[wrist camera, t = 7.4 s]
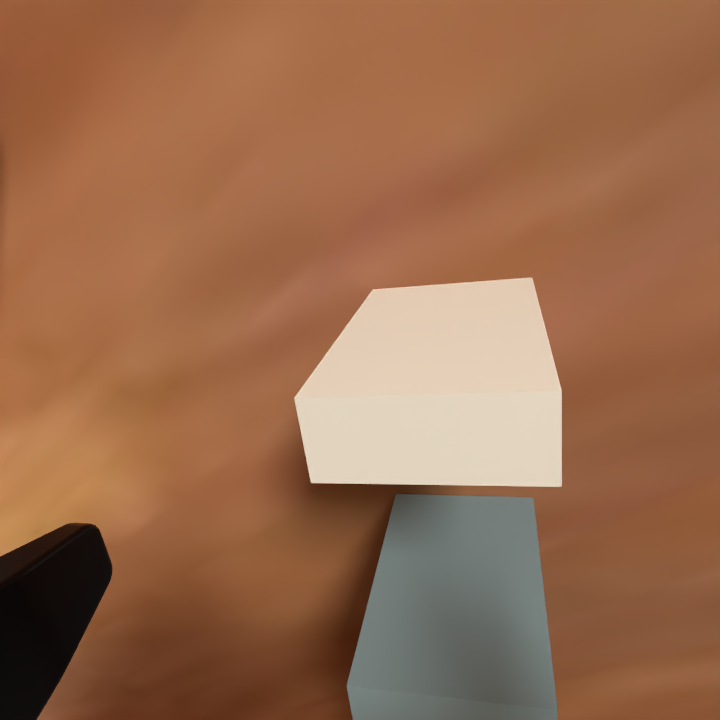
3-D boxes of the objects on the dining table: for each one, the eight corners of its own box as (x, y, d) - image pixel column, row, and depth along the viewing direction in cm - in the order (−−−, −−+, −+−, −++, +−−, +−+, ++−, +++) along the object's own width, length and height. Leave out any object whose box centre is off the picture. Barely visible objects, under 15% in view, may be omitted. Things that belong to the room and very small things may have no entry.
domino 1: (372, 289, 18) (294, 397, 11) (531, 277, 17) (561, 391, 10) (379, 346, 19) (311, 483, 12) (533, 338, 18) (561, 486, 10)
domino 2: (395, 493, 21) (346, 686, 14) (533, 497, 20) (557, 710, 13) (400, 536, 22) (356, 739, 15) (533, 542, 21) (556, 768, 13)
